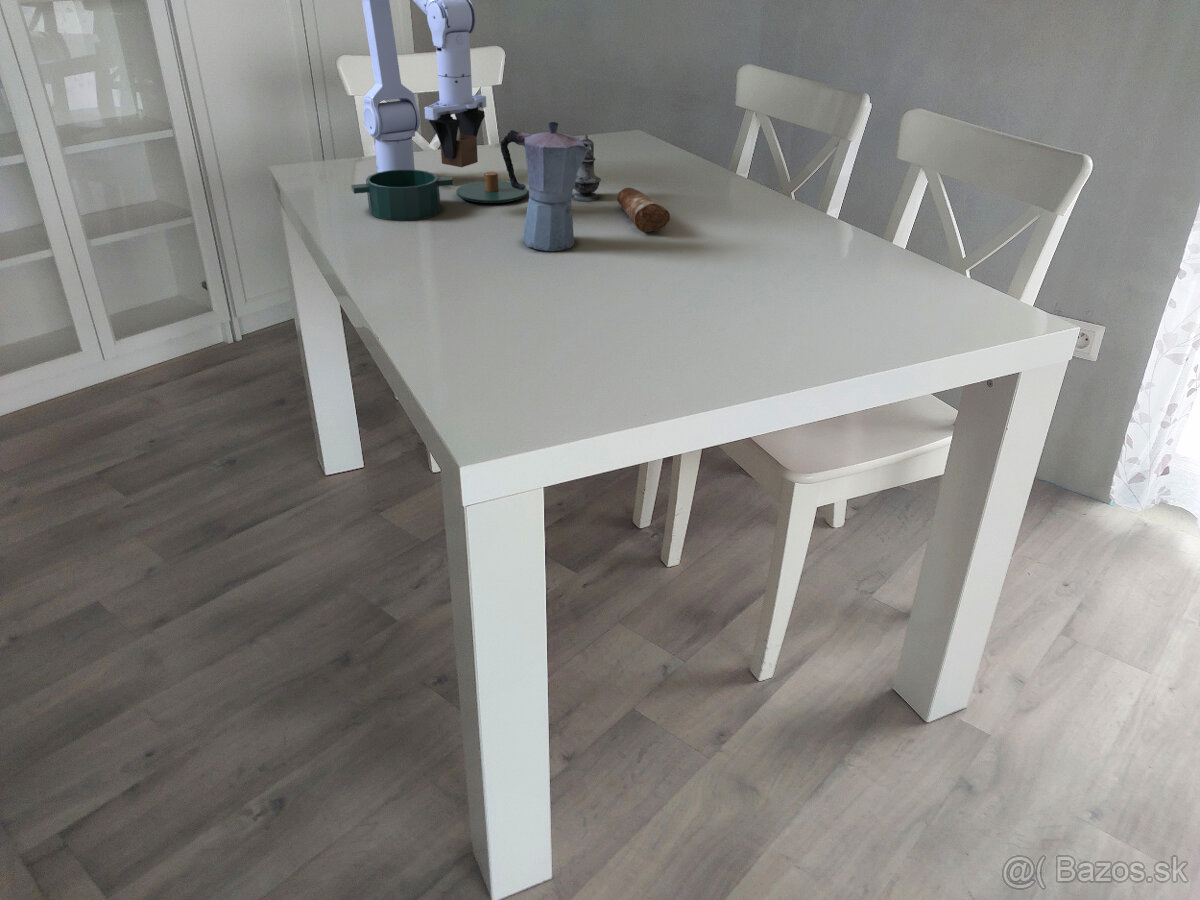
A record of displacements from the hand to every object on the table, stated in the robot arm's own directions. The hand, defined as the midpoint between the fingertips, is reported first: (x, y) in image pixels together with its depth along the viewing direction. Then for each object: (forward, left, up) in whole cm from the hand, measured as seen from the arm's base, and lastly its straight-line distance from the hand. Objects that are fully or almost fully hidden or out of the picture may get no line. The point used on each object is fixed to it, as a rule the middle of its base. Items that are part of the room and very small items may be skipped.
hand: (459, 155), depth 168 cm
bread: (+16, +28, -10) cm, 34 cm away
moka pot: (+23, +8, -10) cm, 26 cm away
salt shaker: (-1, +25, -10) cm, 27 cm away
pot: (-4, -10, -10) cm, 15 cm away
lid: (-8, +8, -10) cm, 15 cm away
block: (0, 0, -1) cm, 1 cm away
